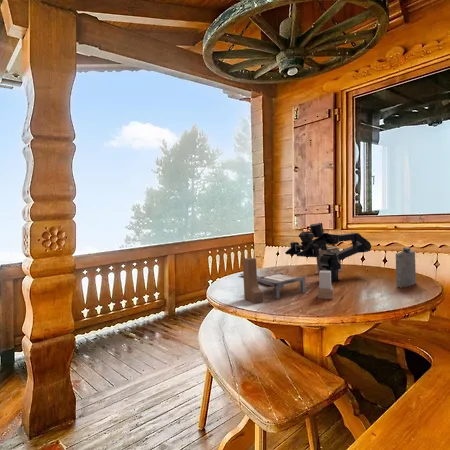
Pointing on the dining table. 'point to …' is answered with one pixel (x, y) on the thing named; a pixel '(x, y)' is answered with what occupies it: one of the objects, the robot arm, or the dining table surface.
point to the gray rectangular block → (325, 279)
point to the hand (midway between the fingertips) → (291, 254)
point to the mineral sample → (321, 252)
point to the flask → (405, 268)
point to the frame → (282, 283)
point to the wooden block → (251, 281)
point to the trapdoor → (277, 278)
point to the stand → (325, 293)
